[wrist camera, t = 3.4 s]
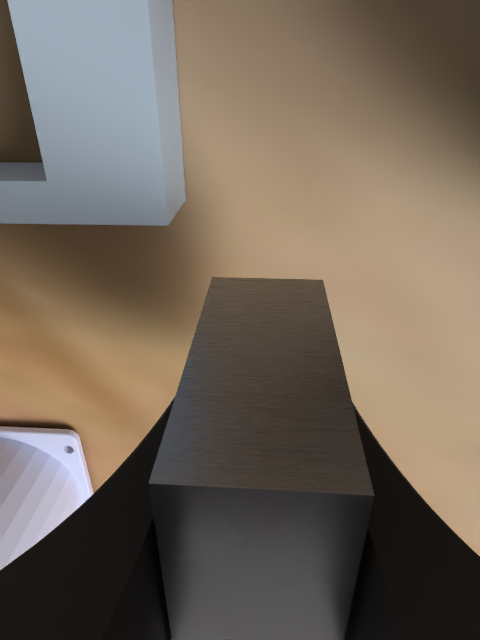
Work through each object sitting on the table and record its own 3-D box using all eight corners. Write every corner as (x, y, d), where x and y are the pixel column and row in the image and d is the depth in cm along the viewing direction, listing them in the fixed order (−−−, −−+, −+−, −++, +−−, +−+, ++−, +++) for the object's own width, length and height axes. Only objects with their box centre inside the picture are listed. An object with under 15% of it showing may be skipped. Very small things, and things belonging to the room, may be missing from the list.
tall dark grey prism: (307, 443, 15) (330, 703, 9) (218, 439, 15) (179, 690, 9) (322, 280, 12) (374, 495, 6) (212, 277, 12) (148, 483, 6)
